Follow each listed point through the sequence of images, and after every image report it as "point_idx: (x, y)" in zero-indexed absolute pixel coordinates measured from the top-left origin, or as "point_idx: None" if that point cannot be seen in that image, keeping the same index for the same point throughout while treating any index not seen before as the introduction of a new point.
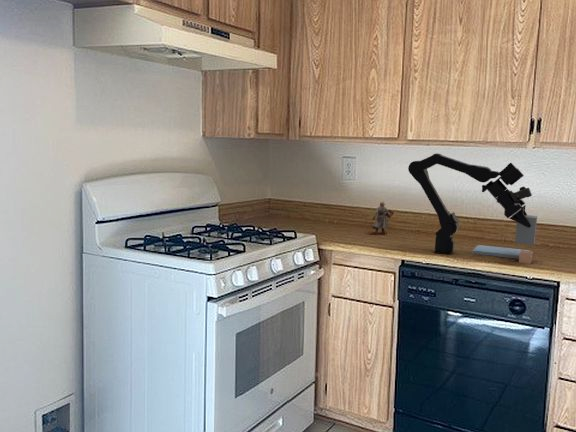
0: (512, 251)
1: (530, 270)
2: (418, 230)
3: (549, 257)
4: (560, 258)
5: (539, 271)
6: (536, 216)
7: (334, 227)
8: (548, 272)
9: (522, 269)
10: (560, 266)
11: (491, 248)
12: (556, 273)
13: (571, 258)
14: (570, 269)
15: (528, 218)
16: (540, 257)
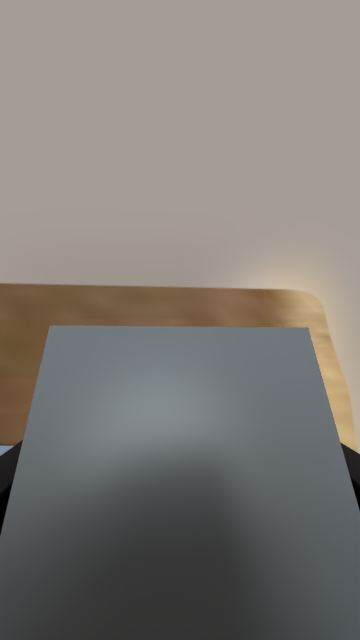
0: None
1: (346, 411)
2: None
3: (18, 354)
4: (25, 316)
5: (335, 378)
6: (111, 334)
7: None
8: (325, 350)
9: (354, 443)
10: (191, 316)
11: None
12: (320, 327)
13: (9, 283)
14: (222, 290)
15: (330, 440)
16: (34, 390)
